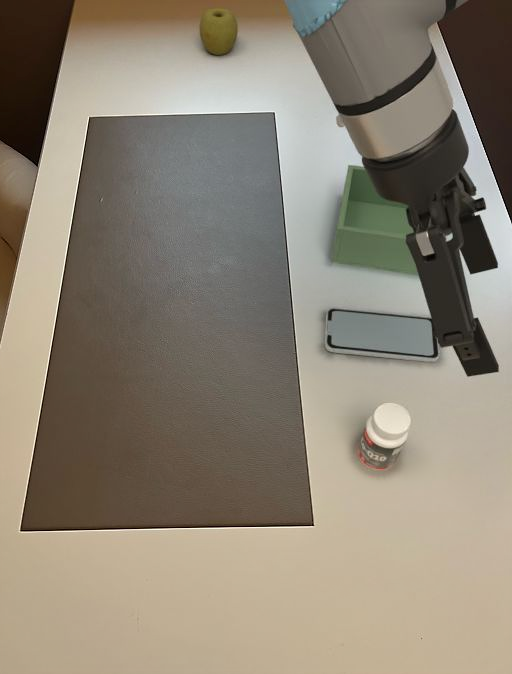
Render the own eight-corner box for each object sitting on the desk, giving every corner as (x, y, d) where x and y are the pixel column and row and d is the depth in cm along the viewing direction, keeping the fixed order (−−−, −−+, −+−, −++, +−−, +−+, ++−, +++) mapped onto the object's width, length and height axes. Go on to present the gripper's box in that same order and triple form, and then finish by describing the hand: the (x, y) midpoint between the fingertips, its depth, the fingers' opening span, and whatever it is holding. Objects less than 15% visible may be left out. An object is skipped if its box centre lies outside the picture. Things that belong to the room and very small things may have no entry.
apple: (239, 41, 129) (240, 4, 123) (234, 62, 124) (234, 24, 118) (203, 39, 129) (202, 2, 124) (197, 59, 125) (195, 22, 119)
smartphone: (440, 360, 81) (325, 348, 82) (438, 364, 82) (324, 353, 83) (436, 317, 86) (326, 306, 86) (434, 321, 86) (325, 311, 87)
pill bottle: (348, 453, 75) (361, 417, 68) (373, 429, 77) (387, 392, 70) (380, 479, 73) (396, 444, 66) (404, 454, 75) (422, 417, 68)
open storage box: (434, 211, 99) (446, 177, 93) (430, 277, 91) (443, 243, 85) (342, 199, 101) (348, 164, 95) (330, 262, 93) (337, 228, 87)
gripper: (375, 71, 57) (449, 243, 69) (336, 254, 43) (438, 427, 55) (460, 32, 53) (522, 222, 65) (448, 221, 38) (530, 417, 51)
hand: (483, 317), depth 60 cm, fingers open, 13 cm apart
